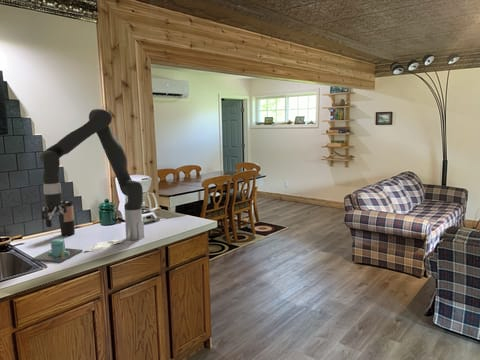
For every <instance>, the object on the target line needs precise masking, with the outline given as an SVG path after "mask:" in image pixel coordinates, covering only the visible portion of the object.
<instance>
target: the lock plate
mask: <svg viewBox="0 0 480 360" xmlns="http://www.w3.org/2000/svg"><path fill="white" fill-rule="evenodd" d="M49 251H52V250H51V249H49V250H47V251H44V252H43V253H41V254H38V255H36V256H34V257H32V258H31V261H32V262H45V263H54V264H62V263H64V262H65V261H67V260H69V259H71V258H73V257H75V256H77V255H79V254H80V253H84V251H83V249H79V248H78V249H77V248H66V247H65V251H69V254H64V253H60V254H61V256H53V255H48V252H49Z"/></svg>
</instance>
